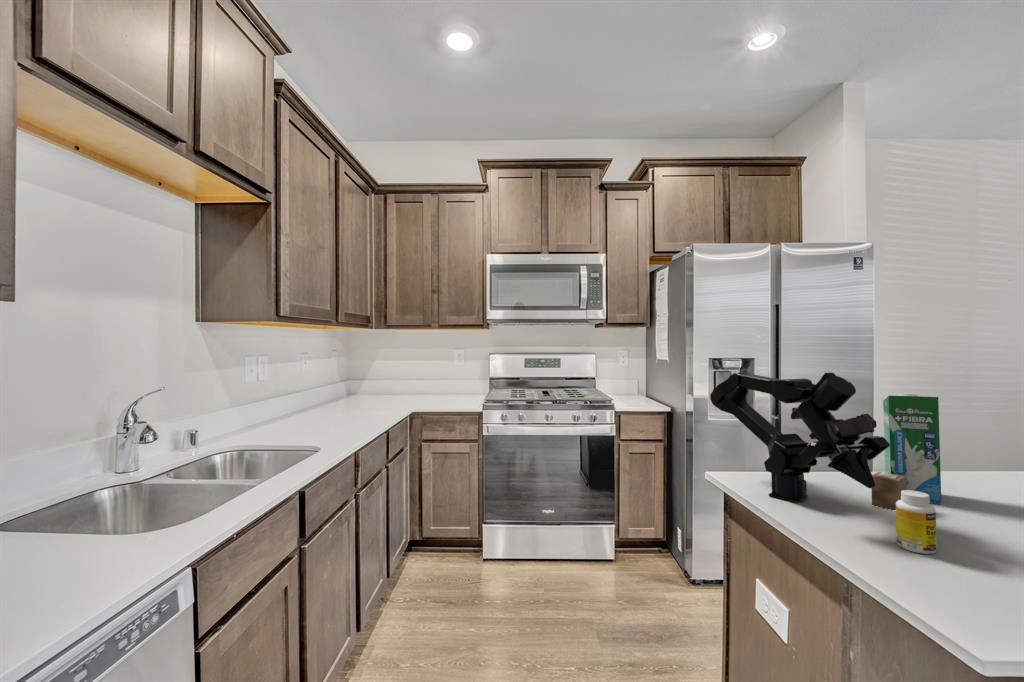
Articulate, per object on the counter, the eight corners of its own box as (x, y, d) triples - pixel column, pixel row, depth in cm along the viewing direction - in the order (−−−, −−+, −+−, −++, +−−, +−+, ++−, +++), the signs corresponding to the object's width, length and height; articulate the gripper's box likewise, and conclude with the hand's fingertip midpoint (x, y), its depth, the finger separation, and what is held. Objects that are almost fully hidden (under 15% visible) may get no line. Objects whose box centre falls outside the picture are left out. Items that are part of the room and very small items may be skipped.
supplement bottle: (931, 558, 80) (929, 500, 80) (892, 547, 85) (890, 492, 85) (941, 549, 83) (939, 494, 83) (902, 539, 88) (901, 486, 88)
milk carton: (932, 492, 113) (929, 392, 113) (941, 504, 105) (938, 396, 106) (885, 487, 118) (882, 391, 118) (891, 497, 110) (888, 395, 110)
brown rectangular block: (871, 505, 106) (871, 474, 106) (879, 501, 109) (878, 471, 109) (899, 512, 102) (898, 479, 102) (906, 507, 104) (905, 475, 104)
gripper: (809, 403, 95) (862, 470, 84) (879, 399, 99) (938, 461, 89) (780, 434, 103) (825, 499, 92) (846, 429, 107) (897, 490, 96)
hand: (872, 487), depth 92 cm, fingers closed
